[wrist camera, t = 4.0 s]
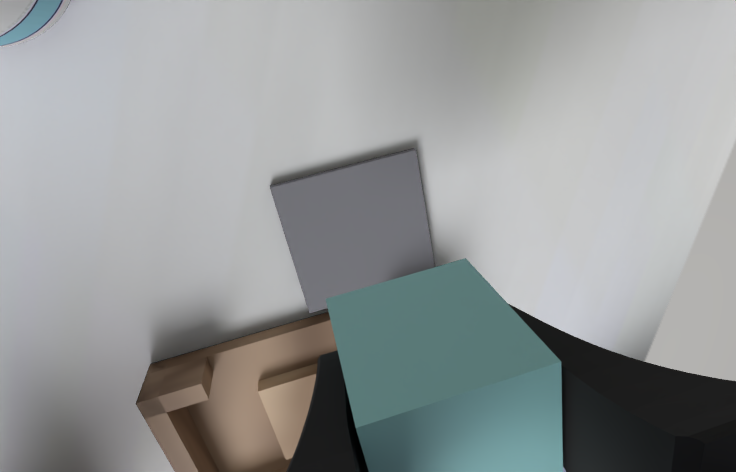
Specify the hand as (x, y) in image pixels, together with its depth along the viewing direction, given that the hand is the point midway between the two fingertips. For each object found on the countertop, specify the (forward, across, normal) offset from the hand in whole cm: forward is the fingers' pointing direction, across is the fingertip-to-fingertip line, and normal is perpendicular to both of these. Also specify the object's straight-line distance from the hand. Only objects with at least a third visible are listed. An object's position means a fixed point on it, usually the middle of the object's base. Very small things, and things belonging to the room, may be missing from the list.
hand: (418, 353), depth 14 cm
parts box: (+10, +4, +9) cm, 14 cm away
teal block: (+1, 0, 0) cm, 1 cm away
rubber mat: (+10, 0, 0) cm, 10 cm away
